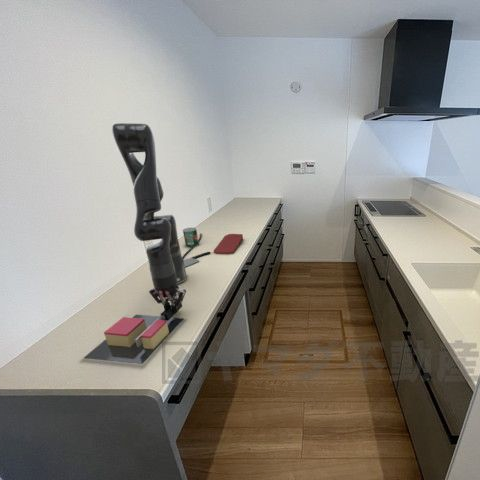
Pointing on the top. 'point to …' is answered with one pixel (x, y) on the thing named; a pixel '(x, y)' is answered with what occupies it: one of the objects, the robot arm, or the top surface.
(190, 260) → the cleaver
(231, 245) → the red slab
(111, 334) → the cake
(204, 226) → the top surface
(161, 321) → the cake slice
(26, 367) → the top surface
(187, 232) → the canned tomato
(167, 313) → the knife
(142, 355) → the slate board
